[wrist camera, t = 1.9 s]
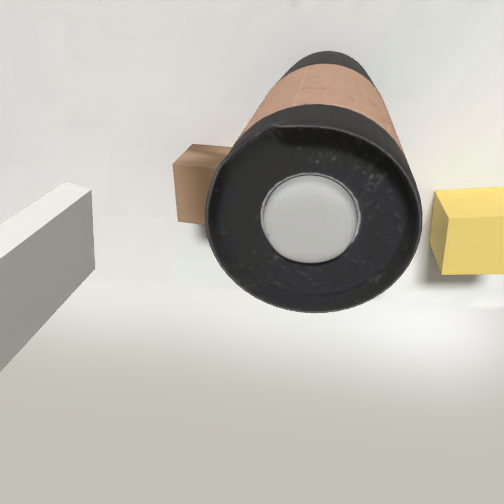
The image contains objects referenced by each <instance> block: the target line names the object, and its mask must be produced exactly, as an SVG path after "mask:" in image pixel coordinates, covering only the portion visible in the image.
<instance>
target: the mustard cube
mask: <svg viewBox="0 0 504 504" xmlns="http://www.w3.org/2000/svg"><path fill="white" fill-rule="evenodd" d="M429 243H430V246H431V248H432V251H433V254H434V256H435V259H436V262H437V264H438V267H439V270H440V272H441V275H471V274H504V187H487V188H470V189H453V190H436V191H435V193H434V203H433V212H432V221H431V230H430V240H429Z"/></svg>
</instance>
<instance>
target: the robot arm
mask: <svg viewBox="0 0 504 504" xmlns="http://www.w3.org/2000/svg"><path fill="white" fill-rule="evenodd" d="M94 269H95V259H94V238H93V216H92V195H91V189H87V188H84V187H80V186H77V185H73V184H70V183H66V182H64V183H63V184H61V185H59V186H58V187H56V188H55V189H53V190H52V191H50V192H49V193H47V194H46V195H44V196H43V197H41V198H40V199H38V200H37V201H35V202H34V203H32V204H31V205H29V206H28V207H26V208H25V209H23V210H22V211H20V212H19V213H17V214H16V215H14V216H13V217H11V218H10V219H8V220H7V221H5V222H3V223H2V224H0V371H1V370H2V369H3V368H4V367H5V366H6V365H7V364H8V363H9V362H10V360H11V359H12V358H13V357H14V356H15V355H16V354H17V353H18V352H19V351H20V349H22V347H23V346H24V345H25V344H26V343H27V342H28V341H29V340H30V339H31V338H32V337H33V336H34V334H35V333H36V332H37V331H38V330H39V329H40V328H41V327H42V326H43V325H44V323H45V322H46V321H47V320H48V319H49V318H50V317H51V316H52V315H53V314H54V313H55V312H56V310H57V309H58V308H59V307H60V306H61V305H62V304H63V303H64V301H66V299H67V298H68V297H69V296H70V295H71V294H72V293H73V292H74V291H75V290H76V289H77V287H78V286H79V285H80V284H81V283H82V282H83V281H84V280H85V279H86V278H87V277H88V276H89V275H90V273H91V272H92V271H93V270H94Z"/></svg>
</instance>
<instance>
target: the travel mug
mask: <svg viewBox="0 0 504 504" xmlns="http://www.w3.org/2000/svg"><path fill="white" fill-rule="evenodd" d="M205 226H206V233H207V237H208V240H209V244H210V247H211V249H212V251H213V253H214V256H215V258H216V259H217V261H218V263H219V264H220V266H221V267H222V268H223V270H224V271H225V272H226V274H227V275H228V276H229V277H230V278H231V279H232V280H233V281H234V282H235V283H236V284H237V285H238V286H240V287H241V288H242V289H243V290H245V291H246V292H248V293H249V294H251V295H252V296H254V297H255V298H257V299H260V300H261V301H263V302H266V303H268V304H271V305H273V306H276V307H279V308H283V309H286V310H291V311H297V312H306V313H327V312H335V311H340V310H344V309H349V308H352V307H355V306H357V305H360V304H363V303H365V302H367V301H369V300H371V299H373V298H375V297H376V296H378V295H380V294H381V293H383V292H384V291H385V290H386V289H388V288H389V287H390V286H391V285H393V284H394V283H395V282H396V281H397V279H398V278H399V277H400V276H401V275H402V274H403V273H404V271H405V270H406V268H407V267H408V266H409V264H410V262H411V260H412V258H413V257H414V255H415V253H416V250H417V247H418V244H419V241H420V236H421V231H422V207H421V199H420V195H419V192H418V189H417V185H416V182H415V180H414V177H413V175H412V172H411V170H410V167H409V165H408V162H407V159H406V157H405V154H404V152H403V149H402V147H401V144H400V141H399V139H398V136H397V134H396V131H395V129H394V126H393V123H392V121H391V118H390V116H389V113H388V111H387V108H386V105H385V103H384V101H383V99H382V97H381V95H380V93H379V92H378V90H377V88H376V87H375V85H374V84H373V82H372V80H371V79H370V77H369V76H368V74H367V73H366V71H365V70H364V69H363V67H362V66H361V65H360V64H359V63H358V62H357V61H355V60H354V59H353V58H351V57H349V56H347V55H345V54H343V53H339V52H334V51H322V52H317V53H314V54H311V55H308V56H306V57H305V58H303V59H301V60H300V61H298V62H297V63H296V64H295V65H294V66H293V67H291V68H290V69H289V70H288V72H287V73H286V74H285V75H284V76H283V77H282V78H281V79H280V80H279V81H278V82H277V83H276V84H275V86H274V87H273V88H272V89H271V90H270V91H269V93H268V94H267V96H266V97H265V99H264V100H263V102H262V103H261V105H260V106H259V108H258V109H257V111H256V112H255V114H254V115H253V117H252V118H251V120H250V121H249V123H248V124H247V126H246V128H245V129H244V131H243V132H242V134H241V135H240V137H239V138H238V140H237V141H236V143H235V144H234V146H233V147H232V149H231V150H230V152H229V153H228V155H227V156H226V157H225V158H224V159H223V160H222V161H221V163H220V164H219V165H218V167H217V169H216V171H215V173H214V175H213V177H212V180H211V183H210V186H209V190H208V194H207V198H206V205H205Z"/></svg>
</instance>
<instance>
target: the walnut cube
mask: <svg viewBox="0 0 504 504" xmlns="http://www.w3.org/2000/svg"><path fill="white" fill-rule="evenodd" d="M231 149H232V147H221V146H210V145H198V144H192V145H191V146H190V147H189V148H188V149H187V150H186V151H185V152H184V153H183V154H182V155H181V156H180V157H179V158H178V159H177V160H176V161H175V162H174V163H173V172H174V183H175V194H176V205H177V216H178V222H186V223H194V224H203V225H205V205H206V198H207V194H208V190H209V186H210V183H211V180H212V177H213V175H214V173H215V171H216V169H217V167H218V165H219V164H220V163H221V161H222V160H223V159H224V158H225V157H226V156H227V155H228V153H229V152H230V150H231Z"/></svg>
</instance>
